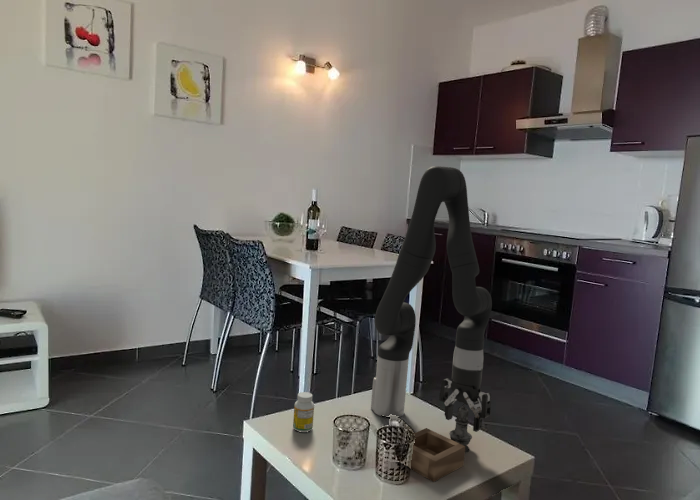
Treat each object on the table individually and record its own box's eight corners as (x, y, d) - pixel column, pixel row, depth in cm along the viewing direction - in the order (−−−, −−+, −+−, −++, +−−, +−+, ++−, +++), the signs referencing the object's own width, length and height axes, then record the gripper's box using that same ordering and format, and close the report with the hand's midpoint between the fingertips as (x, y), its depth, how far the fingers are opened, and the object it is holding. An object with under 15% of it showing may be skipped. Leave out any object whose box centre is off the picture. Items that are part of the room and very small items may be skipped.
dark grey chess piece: (471, 455, 132) (475, 410, 131) (447, 451, 134) (452, 406, 132) (470, 444, 138) (474, 401, 137) (448, 440, 139) (452, 398, 138)
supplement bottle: (310, 434, 137) (312, 399, 136) (290, 431, 138) (292, 397, 137) (314, 425, 142) (316, 392, 141) (295, 423, 143) (297, 389, 142)
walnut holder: (394, 460, 127) (396, 440, 126) (424, 446, 135) (426, 427, 135) (433, 482, 118) (435, 461, 118) (463, 465, 127) (465, 446, 126)
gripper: (436, 359, 136) (431, 418, 137) (483, 374, 126) (478, 438, 127) (453, 354, 141) (448, 412, 142) (500, 369, 131) (494, 431, 132)
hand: (462, 424), depth 135 cm, fingers open, 8 cm apart
